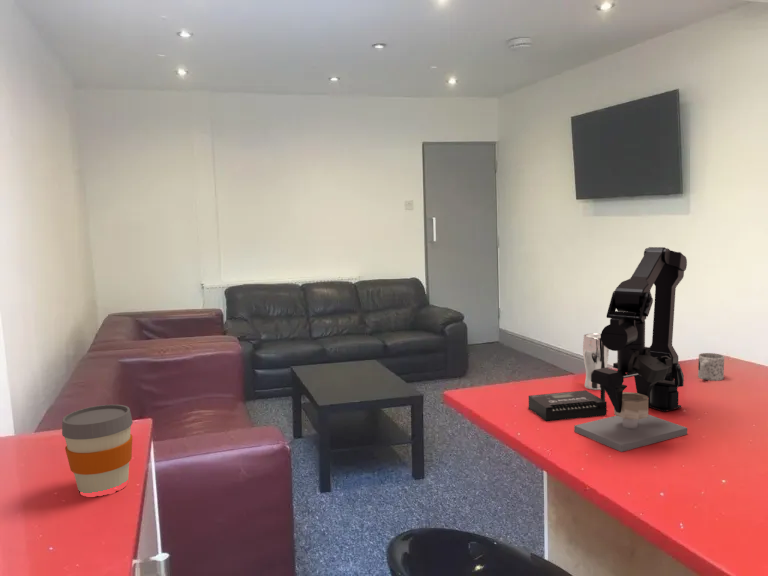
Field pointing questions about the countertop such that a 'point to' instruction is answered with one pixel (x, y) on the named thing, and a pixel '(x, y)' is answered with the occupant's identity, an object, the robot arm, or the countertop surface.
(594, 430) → the post board
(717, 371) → the mug
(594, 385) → the beer glass
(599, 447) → the countertop surface
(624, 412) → the ring
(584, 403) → the wireless controller
